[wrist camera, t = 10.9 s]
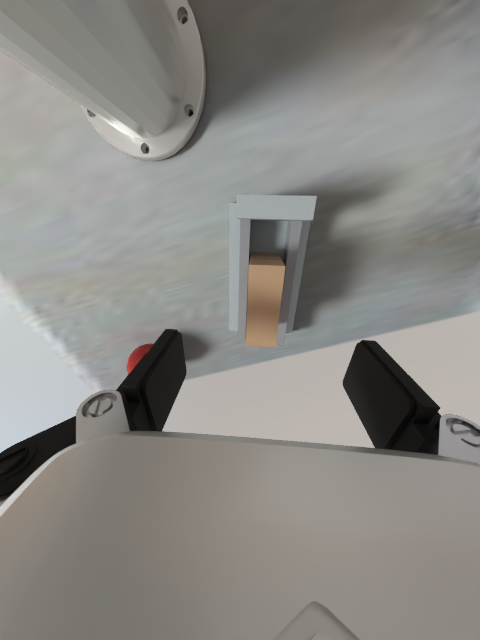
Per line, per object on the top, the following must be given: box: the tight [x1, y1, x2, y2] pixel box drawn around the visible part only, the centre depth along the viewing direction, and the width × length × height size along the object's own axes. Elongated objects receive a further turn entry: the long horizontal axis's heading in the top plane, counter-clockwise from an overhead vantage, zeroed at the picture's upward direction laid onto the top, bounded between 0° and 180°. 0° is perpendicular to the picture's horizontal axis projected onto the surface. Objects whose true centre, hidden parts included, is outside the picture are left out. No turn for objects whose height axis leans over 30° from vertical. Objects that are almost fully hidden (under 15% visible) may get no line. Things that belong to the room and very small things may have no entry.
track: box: [229, 194, 317, 346], centre depth 22 cm, size 16×9×8 cm, turn 178°
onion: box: [127, 344, 154, 375], centre depth 29 cm, size 6×6×8 cm
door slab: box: [246, 252, 285, 348], centre depth 21 cm, size 8×3×8 cm, turn 179°
